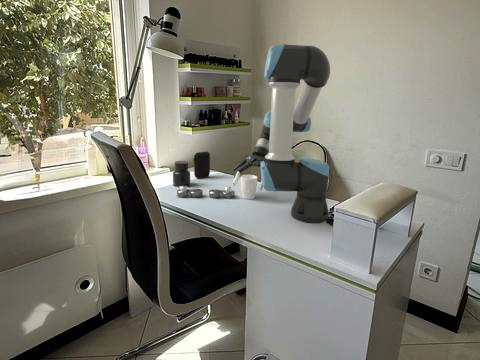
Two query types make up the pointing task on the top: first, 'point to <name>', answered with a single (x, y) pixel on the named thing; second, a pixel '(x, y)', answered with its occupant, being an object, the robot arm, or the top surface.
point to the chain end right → (222, 193)
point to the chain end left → (189, 192)
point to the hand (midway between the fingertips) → (246, 186)
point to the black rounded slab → (201, 164)
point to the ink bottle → (181, 174)
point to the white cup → (248, 186)
